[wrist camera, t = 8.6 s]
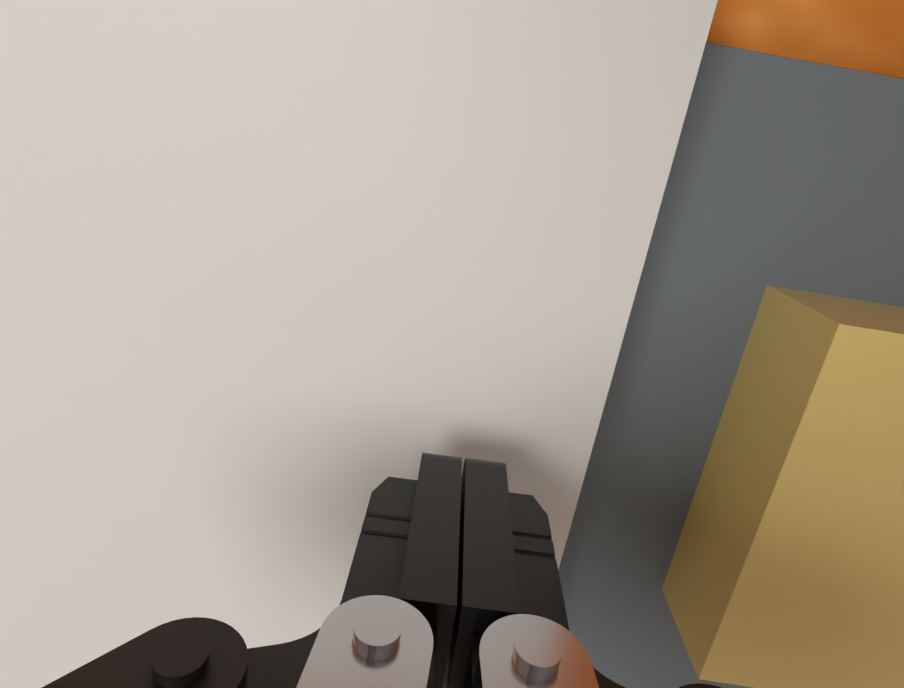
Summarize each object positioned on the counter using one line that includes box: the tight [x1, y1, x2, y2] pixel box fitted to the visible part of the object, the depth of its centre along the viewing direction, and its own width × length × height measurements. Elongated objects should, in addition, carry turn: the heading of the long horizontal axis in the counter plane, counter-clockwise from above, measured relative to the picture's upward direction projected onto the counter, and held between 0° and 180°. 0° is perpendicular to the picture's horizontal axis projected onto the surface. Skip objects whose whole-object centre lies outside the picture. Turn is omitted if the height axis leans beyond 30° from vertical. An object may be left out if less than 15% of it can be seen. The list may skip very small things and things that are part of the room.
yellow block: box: [662, 285, 904, 688], centre depth 14 cm, size 9×6×3 cm, turn 171°
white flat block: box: [0, 0, 718, 688], centre depth 14 cm, size 20×14×4 cm
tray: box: [558, 43, 904, 688], centre depth 15 cm, size 18×12×2 cm, turn 171°
